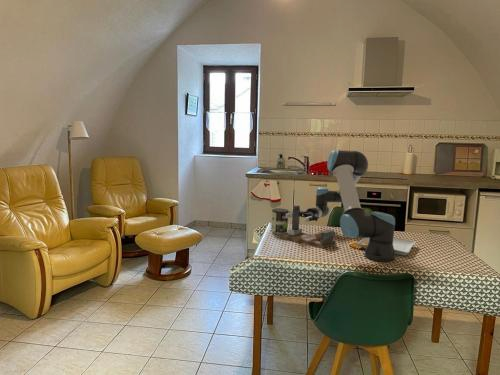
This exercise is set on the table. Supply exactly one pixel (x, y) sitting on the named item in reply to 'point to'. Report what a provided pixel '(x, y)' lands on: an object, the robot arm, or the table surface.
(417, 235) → the table surface
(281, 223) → the coffee can
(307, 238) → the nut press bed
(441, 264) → the table surface
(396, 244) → the square plate
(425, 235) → the table surface
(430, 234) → the table surface
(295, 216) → the press carriage
